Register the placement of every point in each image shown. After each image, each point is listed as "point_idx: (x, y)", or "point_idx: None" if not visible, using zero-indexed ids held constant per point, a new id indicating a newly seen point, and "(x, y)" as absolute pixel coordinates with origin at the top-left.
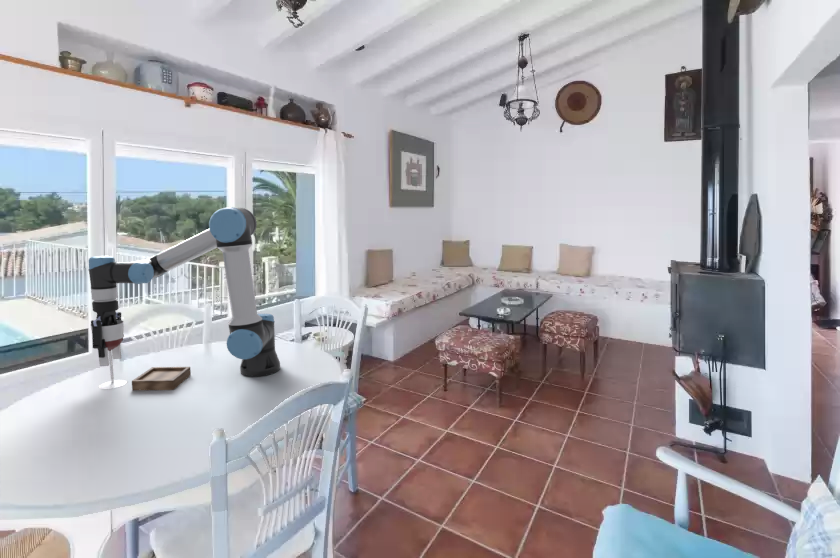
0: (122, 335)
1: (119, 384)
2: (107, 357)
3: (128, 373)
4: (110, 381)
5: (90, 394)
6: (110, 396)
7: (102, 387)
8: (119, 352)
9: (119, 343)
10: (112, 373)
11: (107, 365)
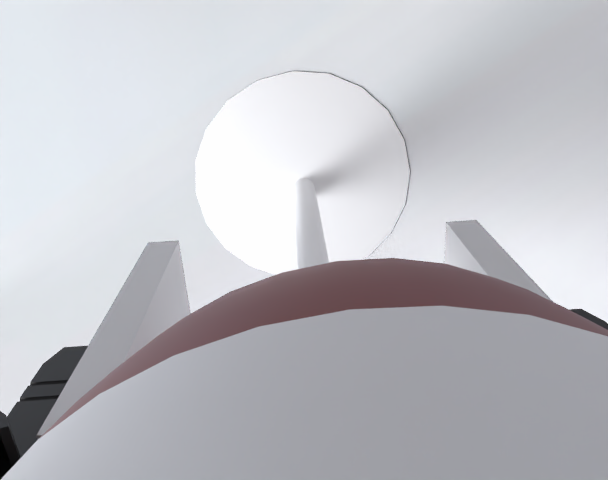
0: (279, 382)
1: (323, 111)
2: (518, 274)
3: (34, 215)
4: (255, 236)
5: (513, 219)
6: (586, 21)
7: (380, 218)
8: (155, 292)
9: (395, 259)
10: (314, 210)
11: (479, 225)
